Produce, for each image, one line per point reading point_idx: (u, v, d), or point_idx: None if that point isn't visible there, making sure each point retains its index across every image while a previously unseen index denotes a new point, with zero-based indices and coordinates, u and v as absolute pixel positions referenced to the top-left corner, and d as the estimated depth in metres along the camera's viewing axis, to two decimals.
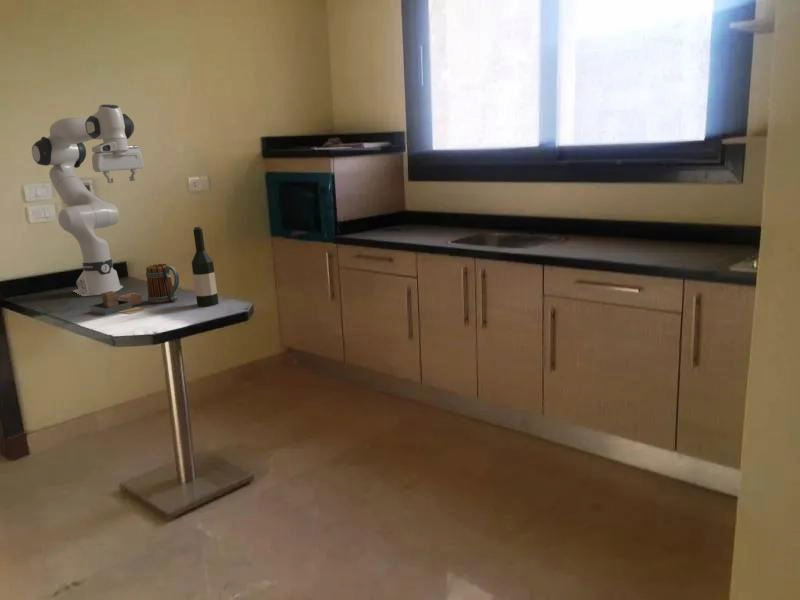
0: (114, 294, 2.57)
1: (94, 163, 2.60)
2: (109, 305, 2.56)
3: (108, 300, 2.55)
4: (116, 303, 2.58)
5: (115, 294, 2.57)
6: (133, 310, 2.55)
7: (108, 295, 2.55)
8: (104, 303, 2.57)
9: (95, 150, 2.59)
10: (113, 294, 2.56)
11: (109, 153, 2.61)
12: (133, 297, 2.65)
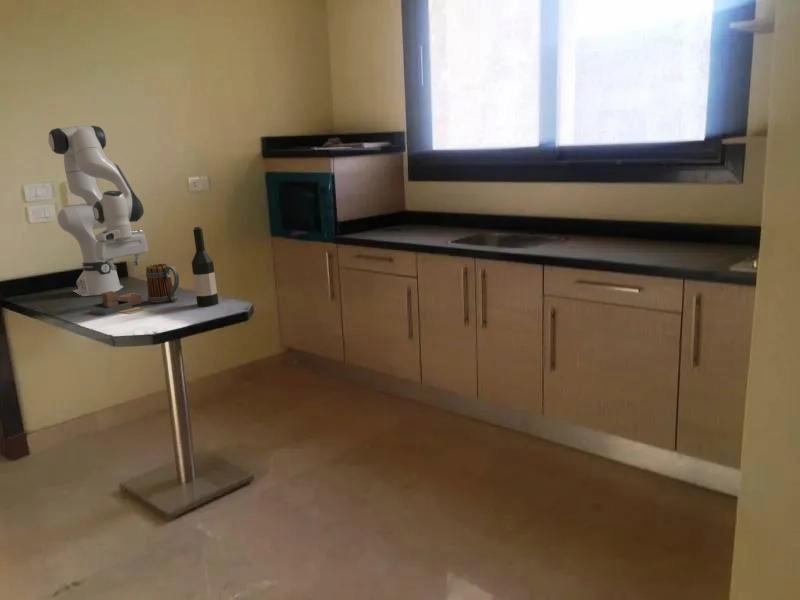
0: (114, 294, 2.57)
1: (97, 251, 2.56)
2: (109, 305, 2.56)
3: (108, 300, 2.55)
4: (116, 303, 2.58)
5: (115, 294, 2.57)
6: (133, 310, 2.55)
7: (108, 295, 2.55)
8: (104, 303, 2.57)
9: (98, 239, 2.55)
10: (113, 294, 2.56)
11: (113, 241, 2.57)
12: (133, 297, 2.65)
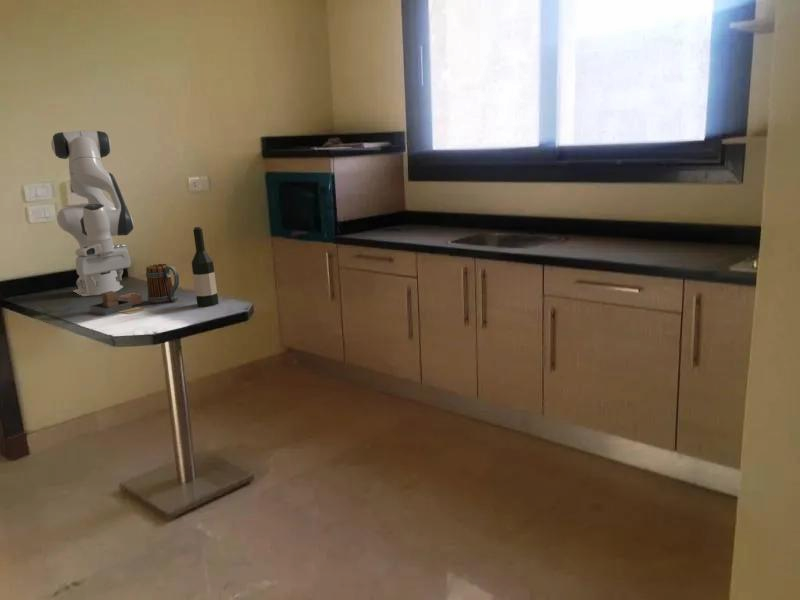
0: (114, 294, 2.57)
1: (77, 267, 2.47)
2: (109, 305, 2.56)
3: (108, 300, 2.55)
4: (116, 303, 2.58)
5: (115, 294, 2.57)
6: (133, 310, 2.55)
7: (108, 295, 2.55)
8: (104, 303, 2.57)
9: (79, 254, 2.46)
10: (113, 294, 2.56)
11: (94, 256, 2.48)
12: (133, 297, 2.65)
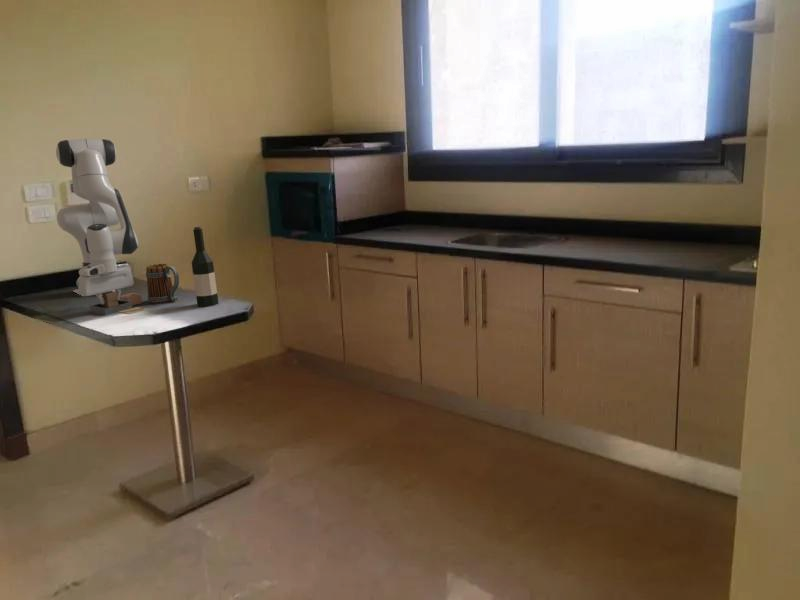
0: (114, 294, 2.57)
1: (81, 287, 2.49)
2: (109, 305, 2.56)
3: (108, 300, 2.55)
4: (116, 303, 2.58)
5: (115, 294, 2.57)
6: (133, 310, 2.55)
7: (108, 295, 2.55)
8: None
9: (82, 274, 2.48)
10: (113, 294, 2.57)
11: (97, 276, 2.50)
12: (133, 297, 2.65)
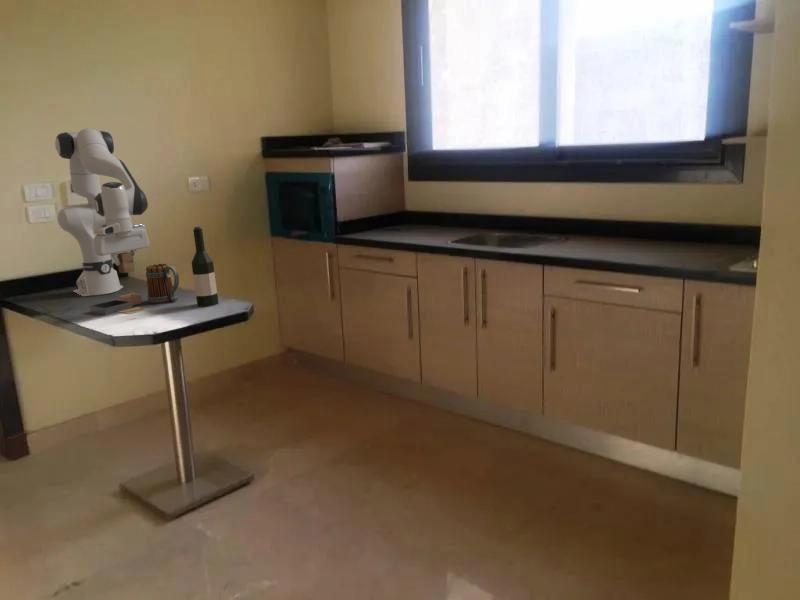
0: (129, 255, 2.50)
1: (96, 246, 2.42)
2: (125, 266, 2.49)
3: (124, 261, 2.48)
4: (132, 264, 2.51)
5: (130, 255, 2.50)
6: (133, 310, 2.55)
7: (123, 255, 2.48)
8: None
9: (97, 233, 2.42)
10: (128, 255, 2.50)
11: (112, 235, 2.43)
12: (133, 297, 2.65)
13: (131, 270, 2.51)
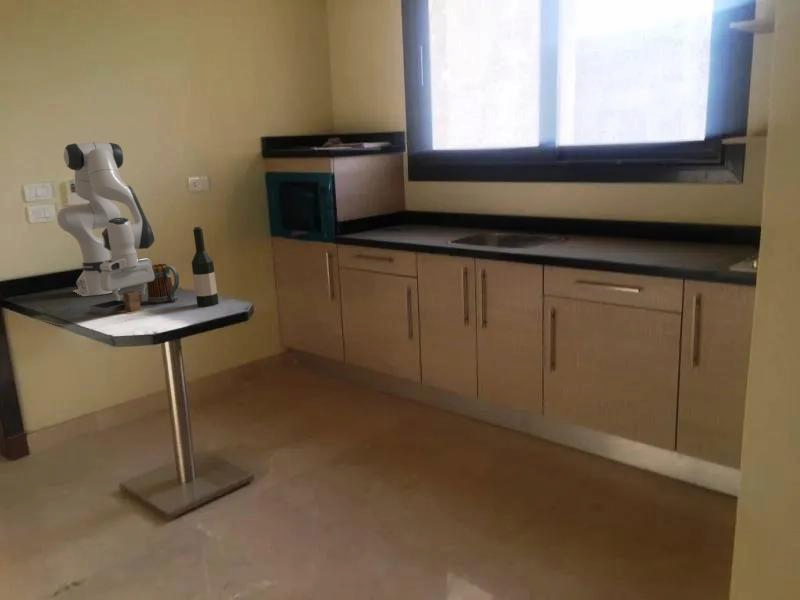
0: (136, 294, 2.54)
1: (102, 282, 2.45)
2: (131, 305, 2.53)
3: (130, 300, 2.52)
4: (138, 303, 2.55)
5: (137, 294, 2.54)
6: None
7: (130, 295, 2.52)
8: (126, 303, 2.54)
9: (103, 268, 2.45)
10: (135, 294, 2.53)
11: (118, 271, 2.46)
12: None
13: (137, 309, 2.55)
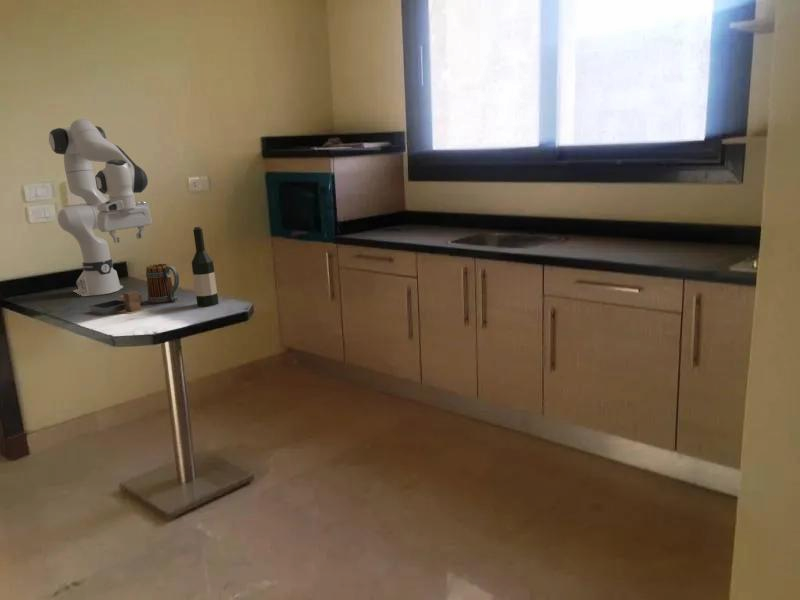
0: (136, 294, 2.54)
1: (99, 222, 2.47)
2: (131, 305, 2.53)
3: (130, 300, 2.52)
4: (138, 303, 2.55)
5: (137, 294, 2.54)
6: None
7: (130, 295, 2.52)
8: (126, 303, 2.54)
9: (101, 209, 2.46)
10: (135, 294, 2.53)
11: (115, 212, 2.48)
12: None
13: (137, 309, 2.55)
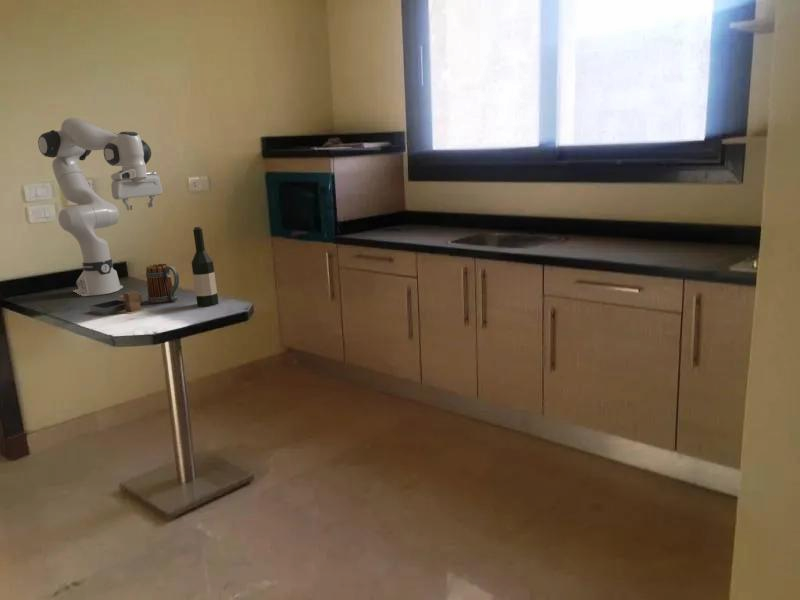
0: (136, 294, 2.54)
1: (113, 190, 2.59)
2: (131, 305, 2.53)
3: (130, 300, 2.52)
4: (138, 303, 2.55)
5: (137, 294, 2.54)
6: None
7: (130, 295, 2.52)
8: (126, 303, 2.54)
9: (114, 178, 2.59)
10: (135, 294, 2.53)
11: (128, 180, 2.61)
12: None
13: (137, 309, 2.55)
